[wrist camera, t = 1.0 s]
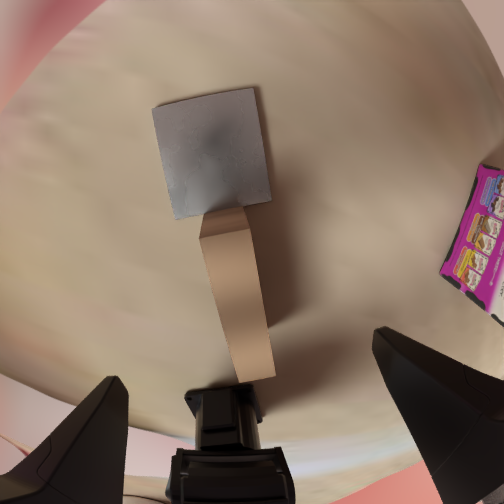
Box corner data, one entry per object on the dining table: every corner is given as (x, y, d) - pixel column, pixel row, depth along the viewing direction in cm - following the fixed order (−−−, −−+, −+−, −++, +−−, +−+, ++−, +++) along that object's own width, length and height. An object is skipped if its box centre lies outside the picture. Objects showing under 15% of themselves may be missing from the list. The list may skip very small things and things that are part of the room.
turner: (287, 324, 22) (303, 369, 17) (212, 339, 22) (212, 386, 17) (252, 89, 15) (264, 71, 11) (153, 109, 15) (129, 100, 10)
